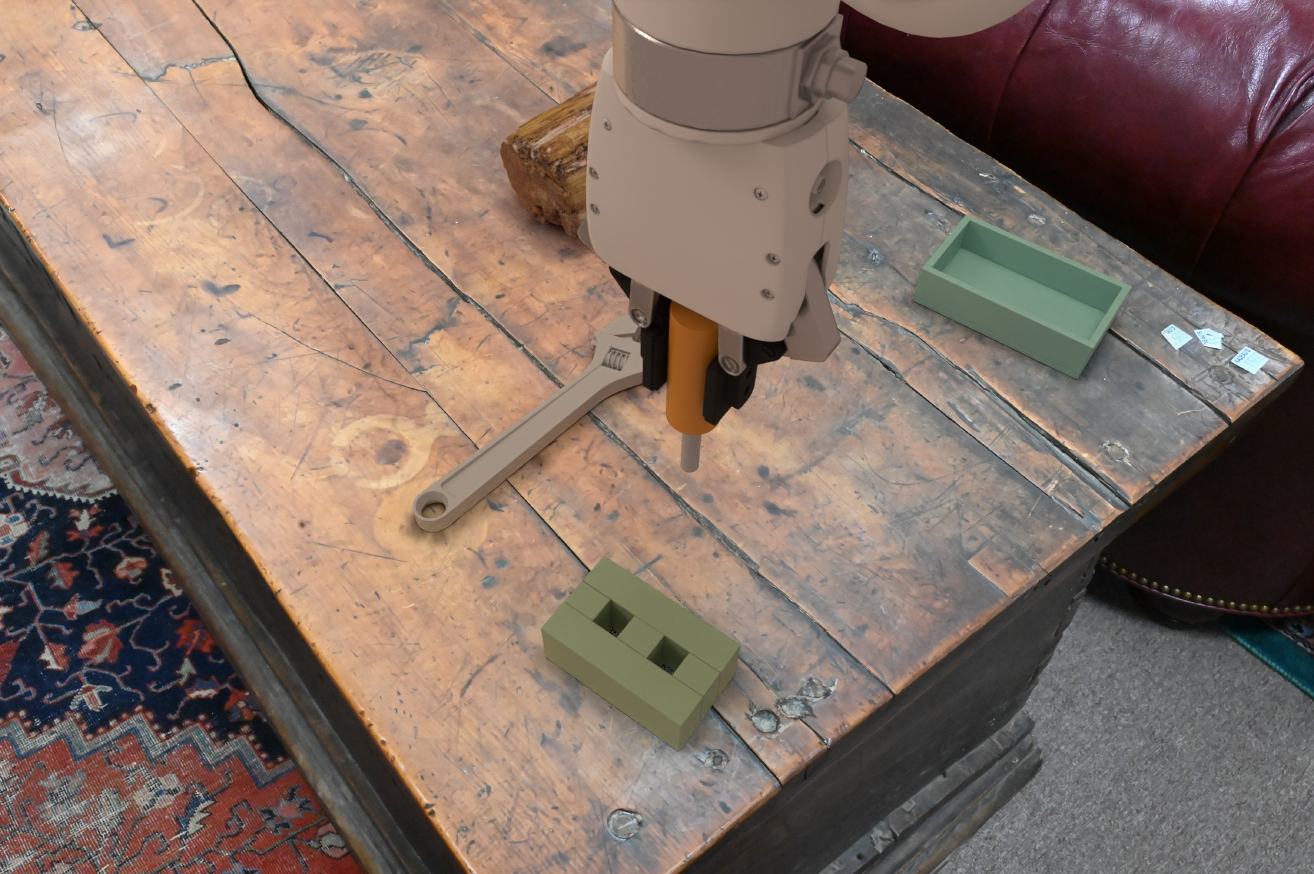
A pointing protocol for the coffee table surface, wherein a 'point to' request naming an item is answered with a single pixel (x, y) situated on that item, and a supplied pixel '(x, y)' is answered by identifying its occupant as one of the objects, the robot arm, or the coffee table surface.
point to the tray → (1021, 294)
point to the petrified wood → (553, 161)
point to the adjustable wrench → (538, 425)
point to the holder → (641, 651)
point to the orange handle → (689, 378)
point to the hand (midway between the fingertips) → (695, 385)
